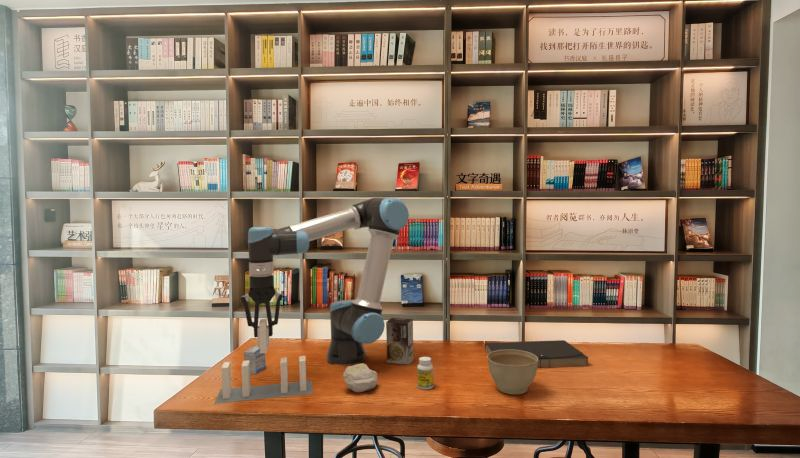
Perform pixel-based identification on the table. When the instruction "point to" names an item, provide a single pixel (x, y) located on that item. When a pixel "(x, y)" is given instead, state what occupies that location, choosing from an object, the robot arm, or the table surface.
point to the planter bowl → (512, 370)
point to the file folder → (545, 352)
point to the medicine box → (255, 359)
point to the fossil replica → (360, 378)
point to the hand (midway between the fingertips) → (263, 346)
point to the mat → (265, 392)
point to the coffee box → (399, 340)
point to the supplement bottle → (425, 373)
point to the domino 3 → (263, 335)
